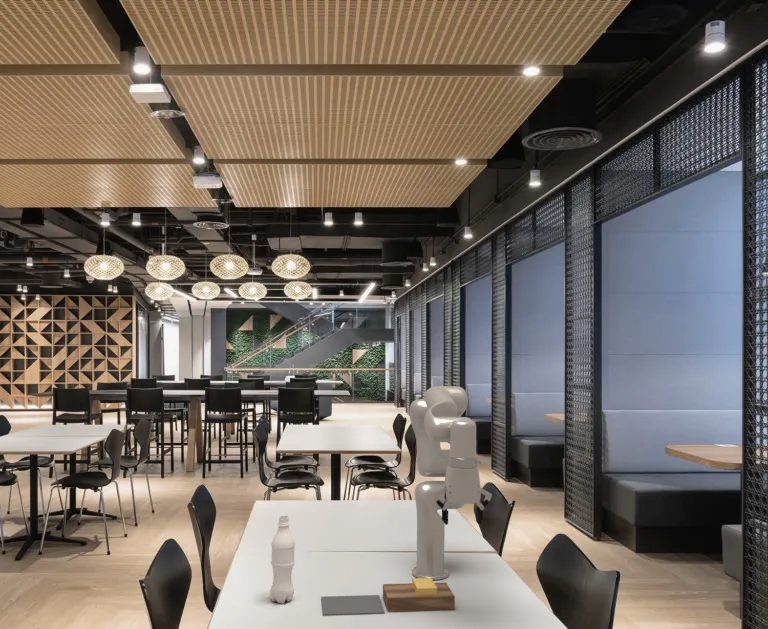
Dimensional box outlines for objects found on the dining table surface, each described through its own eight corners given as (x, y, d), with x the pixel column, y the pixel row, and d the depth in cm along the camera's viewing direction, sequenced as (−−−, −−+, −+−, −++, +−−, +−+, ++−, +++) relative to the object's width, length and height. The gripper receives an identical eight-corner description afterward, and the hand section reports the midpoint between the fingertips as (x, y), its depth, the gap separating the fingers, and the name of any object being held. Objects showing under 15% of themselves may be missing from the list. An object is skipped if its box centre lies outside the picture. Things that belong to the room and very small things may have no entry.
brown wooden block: (382, 597, 205) (382, 584, 206) (445, 595, 208) (445, 582, 208) (387, 612, 193) (387, 598, 194) (454, 610, 196) (454, 596, 196)
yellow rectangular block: (412, 585, 205) (412, 578, 205) (431, 584, 206) (431, 577, 206) (417, 595, 196) (417, 588, 196) (437, 594, 197) (437, 588, 197)
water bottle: (294, 596, 205) (296, 514, 207) (292, 604, 198) (294, 520, 200) (271, 595, 205) (273, 514, 206) (268, 604, 198) (270, 519, 199)
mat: (321, 597, 204) (321, 596, 204) (379, 596, 206) (379, 594, 206) (322, 615, 190) (322, 614, 190) (384, 613, 192) (384, 612, 192)
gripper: (488, 461, 196) (487, 519, 195) (431, 461, 194) (430, 520, 193) (495, 465, 189) (495, 526, 188) (436, 465, 187) (435, 527, 186)
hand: (462, 523), depth 191 cm, fingers open, 9 cm apart
